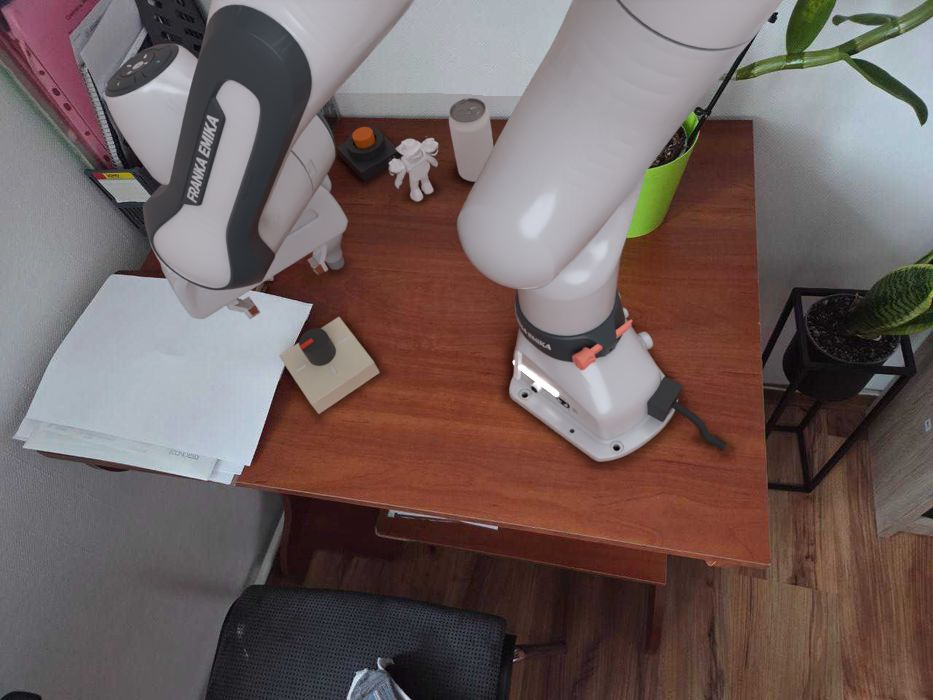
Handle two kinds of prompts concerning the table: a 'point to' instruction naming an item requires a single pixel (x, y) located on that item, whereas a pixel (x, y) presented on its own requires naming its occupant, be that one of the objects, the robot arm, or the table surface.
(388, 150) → the black button housing
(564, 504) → the table surface
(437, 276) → the table surface
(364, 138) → the power button
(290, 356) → the timer panel
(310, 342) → the timer knob
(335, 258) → the lightbulb
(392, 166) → the white figurine
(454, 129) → the can
